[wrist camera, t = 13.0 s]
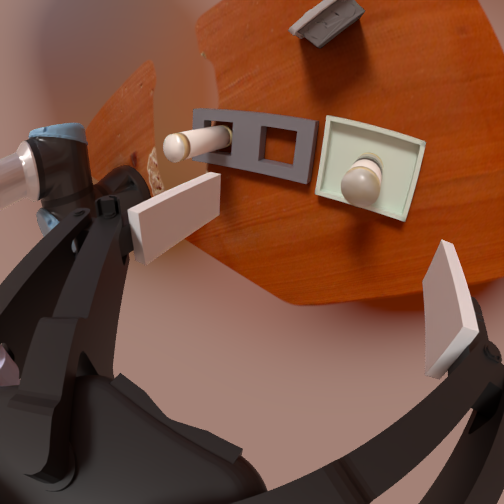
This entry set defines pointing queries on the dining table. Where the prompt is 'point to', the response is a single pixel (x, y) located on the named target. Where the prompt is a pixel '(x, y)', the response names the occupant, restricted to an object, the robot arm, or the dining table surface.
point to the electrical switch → (326, 21)
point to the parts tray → (383, 145)
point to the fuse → (196, 142)
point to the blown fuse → (363, 181)
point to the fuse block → (260, 142)
